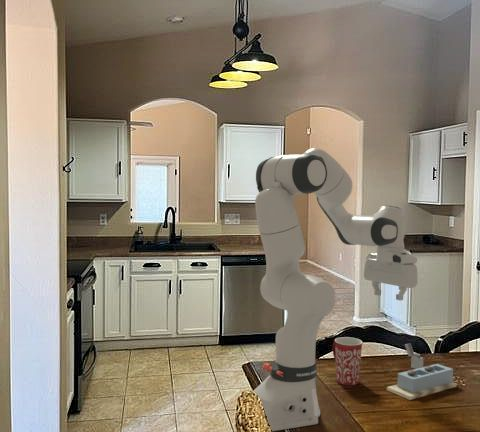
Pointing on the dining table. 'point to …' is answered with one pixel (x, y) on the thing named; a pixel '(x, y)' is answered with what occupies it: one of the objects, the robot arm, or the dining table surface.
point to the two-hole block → (425, 378)
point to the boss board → (411, 396)
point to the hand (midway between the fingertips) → (388, 297)
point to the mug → (347, 360)
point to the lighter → (414, 357)
